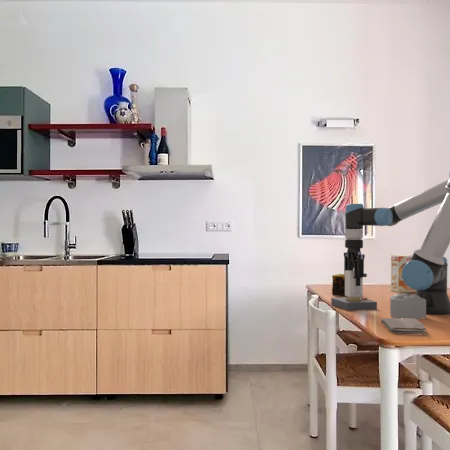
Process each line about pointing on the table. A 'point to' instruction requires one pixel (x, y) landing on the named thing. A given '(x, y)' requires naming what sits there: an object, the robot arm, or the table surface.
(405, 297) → the lumpy-topped squat cylinder
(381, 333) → the table surface
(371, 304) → the socket
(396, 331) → the washcloth
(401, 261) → the coffeecake box
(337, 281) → the candle
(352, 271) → the plug
